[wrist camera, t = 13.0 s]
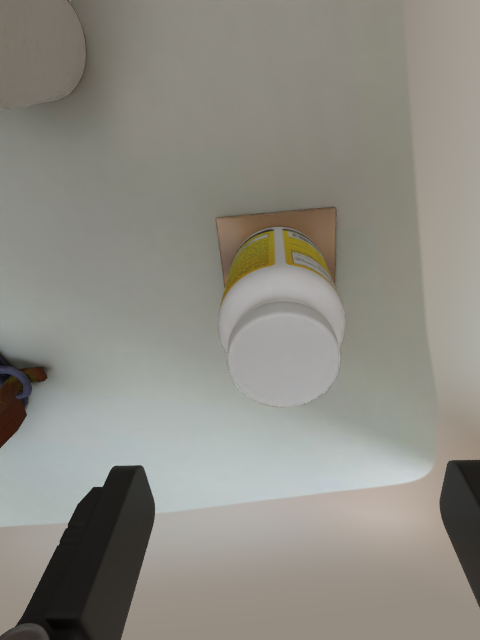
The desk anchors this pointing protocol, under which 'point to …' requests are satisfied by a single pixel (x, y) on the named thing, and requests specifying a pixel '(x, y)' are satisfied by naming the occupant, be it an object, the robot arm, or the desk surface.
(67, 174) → the desk surface
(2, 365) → the mug
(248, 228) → the cork coaster
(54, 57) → the dixie cup
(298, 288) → the pill bottle
